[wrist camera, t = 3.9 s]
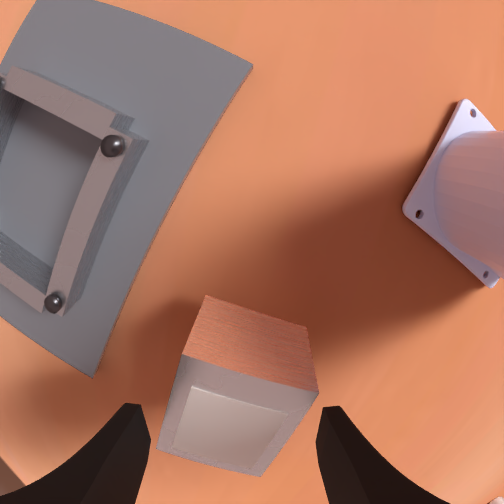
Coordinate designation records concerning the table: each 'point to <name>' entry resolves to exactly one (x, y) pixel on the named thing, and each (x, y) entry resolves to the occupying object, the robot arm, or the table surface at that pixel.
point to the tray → (95, 161)
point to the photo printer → (497, 501)
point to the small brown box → (238, 389)
